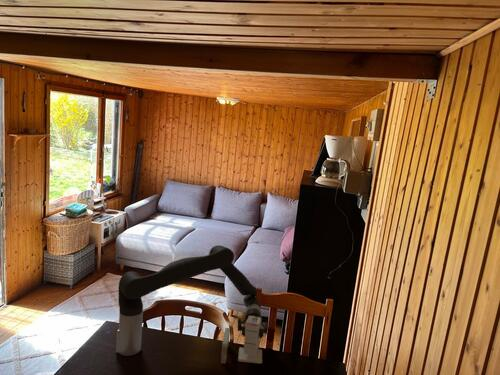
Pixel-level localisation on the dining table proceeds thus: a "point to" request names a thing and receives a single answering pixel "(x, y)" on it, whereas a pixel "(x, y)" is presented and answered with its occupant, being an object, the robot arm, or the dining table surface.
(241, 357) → the grey mat
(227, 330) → the wooden bar
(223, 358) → the birch posts
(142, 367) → the dining table surface
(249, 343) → the syrup box
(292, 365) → the dining table surface
